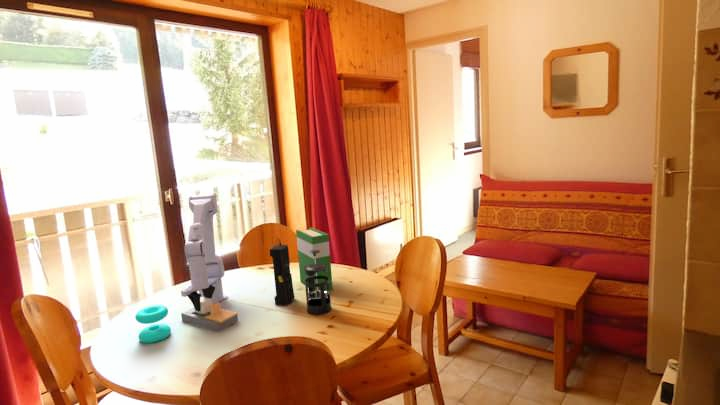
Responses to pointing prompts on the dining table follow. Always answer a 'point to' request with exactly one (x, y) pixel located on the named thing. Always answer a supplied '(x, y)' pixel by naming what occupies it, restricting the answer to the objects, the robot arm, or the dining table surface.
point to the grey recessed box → (206, 320)
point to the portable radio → (282, 275)
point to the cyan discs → (156, 330)
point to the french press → (317, 297)
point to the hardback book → (307, 243)
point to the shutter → (219, 313)
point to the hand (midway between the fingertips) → (203, 308)
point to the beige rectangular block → (204, 305)
